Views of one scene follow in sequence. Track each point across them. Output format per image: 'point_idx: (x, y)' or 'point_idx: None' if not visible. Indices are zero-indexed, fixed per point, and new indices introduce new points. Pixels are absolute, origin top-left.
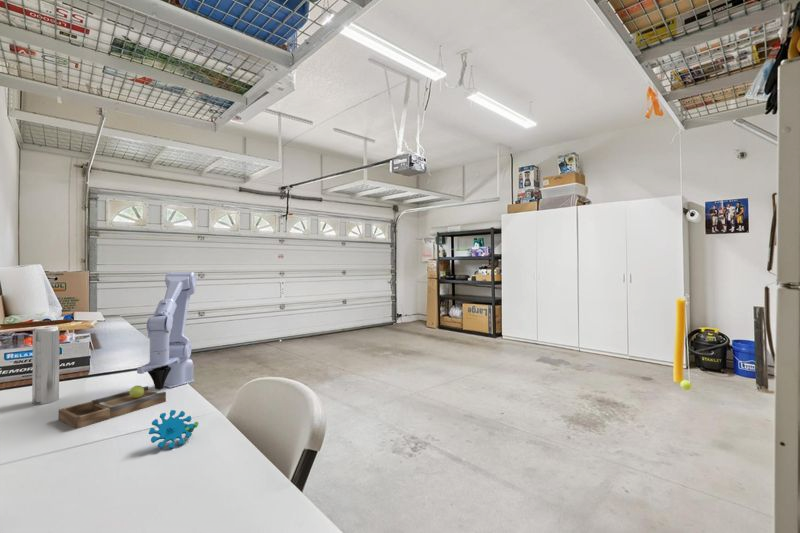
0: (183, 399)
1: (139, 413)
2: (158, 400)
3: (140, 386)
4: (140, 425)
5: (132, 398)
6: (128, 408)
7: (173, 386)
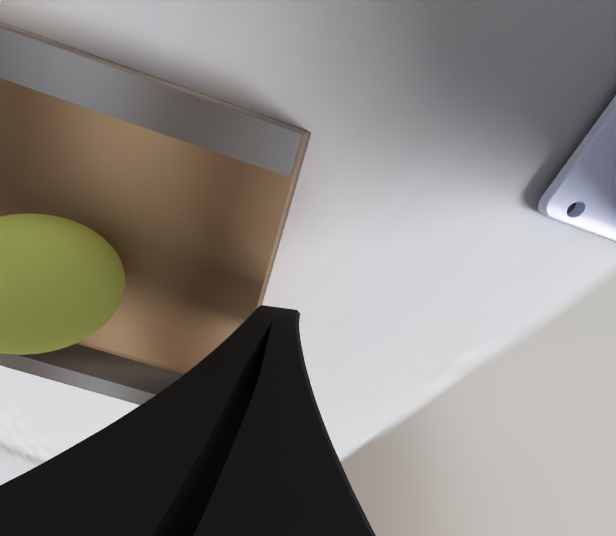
0: None
1: None
2: None
3: (10, 349)
4: (27, 432)
5: None
6: None
7: (565, 223)
